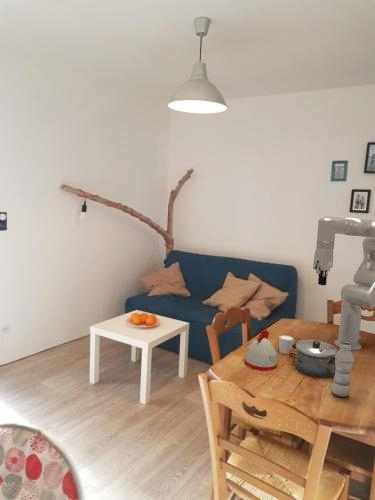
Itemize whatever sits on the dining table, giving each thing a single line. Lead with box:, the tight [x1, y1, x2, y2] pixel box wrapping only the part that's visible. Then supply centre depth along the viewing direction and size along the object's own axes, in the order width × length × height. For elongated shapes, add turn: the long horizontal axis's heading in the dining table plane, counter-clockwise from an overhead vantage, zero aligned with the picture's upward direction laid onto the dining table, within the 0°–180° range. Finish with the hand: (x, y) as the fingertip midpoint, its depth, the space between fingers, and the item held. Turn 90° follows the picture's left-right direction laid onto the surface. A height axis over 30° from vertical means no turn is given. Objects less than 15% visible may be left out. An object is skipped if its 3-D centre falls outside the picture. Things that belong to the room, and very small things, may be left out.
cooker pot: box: [292, 342, 338, 379], centre depth 163 cm, size 17×25×9 cm, turn 41°
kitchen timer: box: [244, 329, 278, 372], centre depth 167 cm, size 14×14×15 cm
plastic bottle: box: [330, 342, 355, 398], centre depth 142 cm, size 6×7×20 cm
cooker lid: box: [296, 339, 338, 357], centre depth 163 cm, size 16×16×3 cm
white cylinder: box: [278, 334, 295, 355], centre depth 182 cm, size 7×7×7 cm
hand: (322, 284), depth 176 cm, fingers closed
